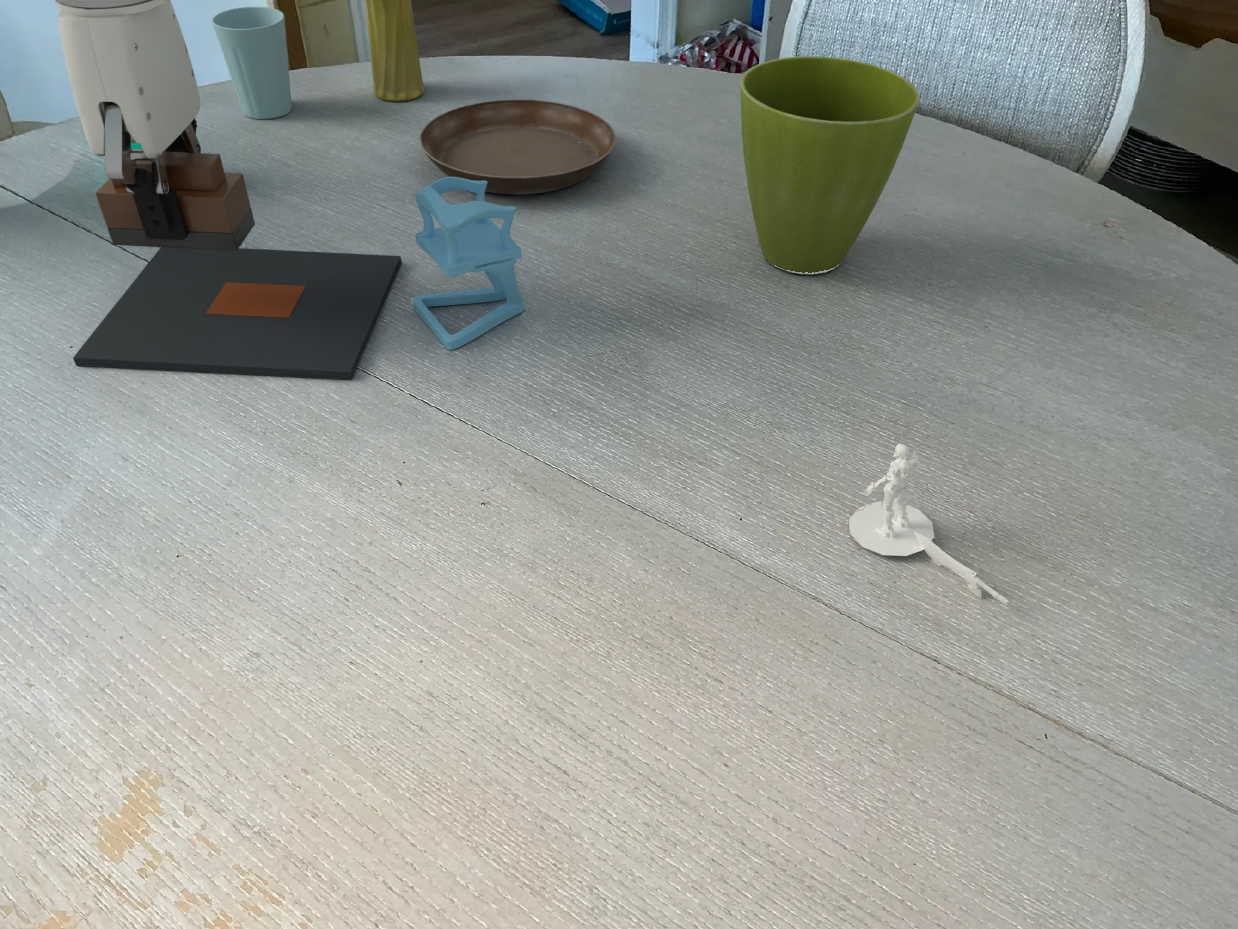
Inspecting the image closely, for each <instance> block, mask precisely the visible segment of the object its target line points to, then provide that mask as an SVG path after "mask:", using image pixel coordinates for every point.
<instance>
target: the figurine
mask: <svg viewBox="0 0 1238 929" xmlns="http://www.w3.org/2000/svg"><path fill="white" fill-rule="evenodd" d="M894 451H895V452H894V454H893V456H892V458H896V459H895V460H892V461H891V462H890V464H889V468H888V469H889V470H888V472H886V475H883V477H882V478H881V479H878V480H877V481H876V482H875V481H871V482H870V485H867V486H866V489H865V490H863V494H864V496H865V497H869V496H870V495H871V494H872V493H873V492H874V490H877V489H878V487H880V486H884V487H883V494H884V497H883V500H881V501H874V502H871V503H868V504H866V505H863V506H860V507H858V508H857V509H858V510H860V509H864V510H860V511H858V510H857V509H856V511H857V512H856V511H854V513H852V515H851V516H850V517H849V518H848V526H849V527H848V528H849V534H850V536H852V538H853V539H854V540H855V541H856V542H857V543H858V544H859V546H861V548H864V549H867V550H869V551H872V552H874V553H875V554H876V553H877V554H879V555H880V556H892V557H893V556H896V557H907V556H910V555H913V554H916V553H918V552H921V551H925V553H926V554H927V555H928V556H929V557H930V558H931V560H932V561H933V563H935V564H936V565H937V566H938V567H942V566H943V567H945V568H946V569H948V570H950V571H951V572H953V573H955V574H956V575H958V576H959V577H960V578H961V579H963V580H964V582H965V583H966V585H967V586H968V589H969V591H970V592H971V593H972V594H973V595H975V596H976V597H978V598H979V599H982V590H981V589H980V587H981V588H982V589H983V590H985V591H986V592H987V593H989V594H990V595H992V597H993V598H994V599H997V600H998V601H1000V602H1001V603H1002V604H1003V605H1004V606H1006V607H1007V606H1009V604H1010V601H1009V600H1008V599H1007V598H1006V597H1004V596H1003V595H1002V594H1000V592H998V591H996V590H994V589H993V588H992V587H991V586H989V585H988V584H987V583H986V582H984V581H982V580H981V579H980V578H979V577H978V576H977V574H978V572H977V571H974V570H973V569H972V568H969V567H967V566H966V565H964V564H963V563H961V562H959V561H958V560H957V559H955V558H953V557H952V556H951V555H950V554H948V553H947V552H945V551H944V550H943V549H942V548H940V547H939V546H938V545H937V544H935V542H934V541H933V540H934V538H935V531H934V526H933V525H934V524H933V521H931V520H930V518H929V517H927V515H925V514H924V513H923V512H922V511H921V510H920V509H919V508H915V507H913V506H910V505H908V504H907V502H906V501H905V500H904V499H905V497H904V496H905V494H906V493H907V492H908V491H909V490H910V484H909V481H910V482H912V481H913V479H914V478H913V476H914V475H915V473H916V471H917V470H918V468H919V462H920V460H919V457H918V454H916V453H917V451H915V450H914V451H913V452H912V453H911V455H910V448H909V446H908V445H906V444H904V443H898V444H897V445H895V450H894ZM908 476H909V477H908ZM869 504H871V505H869ZM867 505H868V506H867ZM865 506H866V507H865ZM864 507H865V508H864Z"/></svg>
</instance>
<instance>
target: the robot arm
mask: <svg viewBox="0 0 1238 929" xmlns="http://www.w3.org/2000/svg"><path fill="white" fill-rule="evenodd" d="M54 4H55V6H56V8H57V10H59V13H58V14H57V20H58V29H59V37H60V41H61V48H62V52H63V58H64V62H65V65H66V66H65V67H66V71H67V75H68V79H69V83H70V86H71V91H72V94H73V98H74V101H75V105H76V108H77V112H78V116H79V119H80V122H81V126H82V129H83V132H84V135H85V138H86V142H87V144H88V146H89V149H90V151H91V152H92V154H93V155H94V156H96V157H104V173H105V176H106V178H107V180H108V179H111V180H114V181H116V182H119V183H121V184H122V185H124V186H125V187H126V189H127V192H128V193H129V194H132V195H133V198H134V201H135V204H136V207H137V210H138V213H139V216H140V219H141V223H142V226H143V229H144V232H145V235H146V236H147V237H148V238H150V239H169V240H184V239H185V238H186V237H187V236H188V230H187V227H186V223H185V220H184V216H183V213H182V210H181V206H180V203H179V199H178V196H177V192H176V190H175V189H169V182H168V177H167V171H166V165H165V160H164V154H163V152H183V153H202V146H201V144H200V141H199V139H198V136H197V128H198V124H197V123H198V121H197V120H196V118H197V116H198V114H199V112H200V109H201V99H200V93H199V87H198V83H197V78H196V75H195V71H194V68H193V63H192V60H191V57H190V54H189V50H188V47H187V44H186V40H185V37H184V34H183V31H182V28H181V26H180V22H179V19H178V17H177V13H176V11H175V8H174V6H173V2H172V0H54ZM131 143H141V145H142V148H143V149H131ZM136 160H141V161H150V163H151V168H152V174H153V175H152V174H151V173H150V172H148V171H147V170H146V169H144V168H137V165H136Z"/></svg>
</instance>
